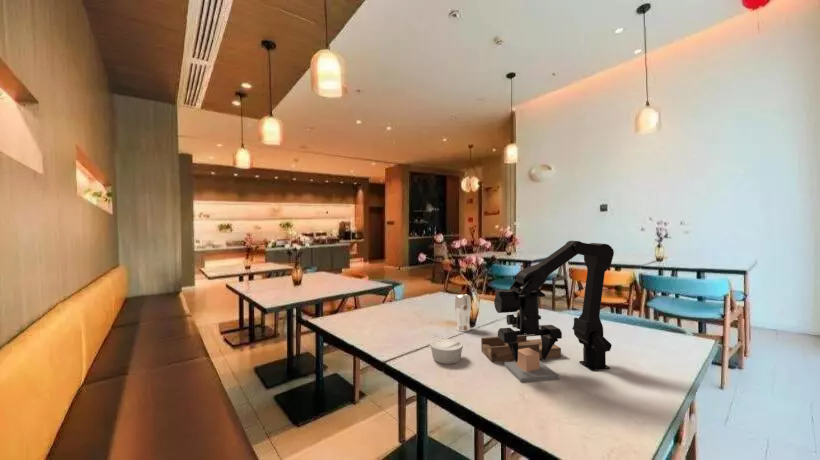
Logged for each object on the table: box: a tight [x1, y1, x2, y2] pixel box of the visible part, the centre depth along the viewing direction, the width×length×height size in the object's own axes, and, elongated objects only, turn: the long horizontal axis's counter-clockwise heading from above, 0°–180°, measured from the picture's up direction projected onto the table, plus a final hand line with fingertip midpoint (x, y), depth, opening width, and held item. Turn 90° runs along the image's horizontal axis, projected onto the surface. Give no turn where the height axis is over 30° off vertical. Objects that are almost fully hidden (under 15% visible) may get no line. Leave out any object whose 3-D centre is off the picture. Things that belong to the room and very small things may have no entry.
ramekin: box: [429, 338, 464, 365], centre depth 118 cm, size 11×11×5 cm
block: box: [516, 348, 541, 372], centre depth 107 cm, size 5×5×5 cm
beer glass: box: [454, 293, 472, 333], centre depth 149 cm, size 7×7×15 cm
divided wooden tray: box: [480, 336, 562, 363], centre depth 120 cm, size 10×25×5 cm, turn 98°
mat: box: [503, 360, 560, 383], centre depth 106 cm, size 12×12×1 cm
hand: (529, 360), depth 106 cm, fingers open, 9 cm apart
